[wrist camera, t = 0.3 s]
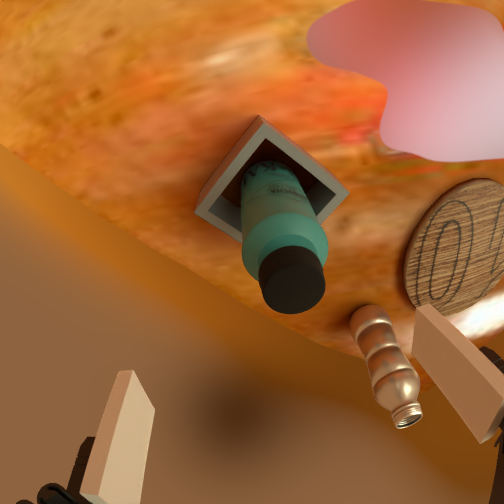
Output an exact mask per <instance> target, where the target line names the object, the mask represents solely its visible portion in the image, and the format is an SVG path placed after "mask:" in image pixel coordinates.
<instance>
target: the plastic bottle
mask: <svg viewBox="0 0 504 504" xmlns="http://www.w3.org/2000/svg"><path fill="white" fill-rule="evenodd" d="M349 327H350V333H351V335H352V337H353V339H354V340H355V342H356V343H357V344H358V346H359V348H360V350H361V352H362V354H363V356H364V358H365V360H366V363H367V367H368V370H369V373H370V378H371V383H372V389H373V394H374V398H375V399H376V401H377V402H378V403H379V404H380V405H381V406H383V407H384V408H386V409H388V410H390V411H391V412H392V414H391V417H392V419H393V420H394V423H395V426H396V428H405V427H408V426H411V425H413V424H415V423H416V422H418V421H419V420H420V419H421V418H422V416H423V415H422V411H421V409H420V404H419V402H416V400H417V397H418V393H419V389H420V379H419V376H418V374H417V372H416V371H415V370H414V368H413V367H412V365H411V364H410V362H409V361H408V360H407V358H406V356H405V354H404V353H403V351H402V349H401V347H400V346H399V344H398V341H397V339H396V336H395V333H394V331H393V327H392V323H391V319H390V317H389V315H388V313H387V312H386V311H385V310H384V309H383V308H382V307H380V306H377V305H365V306H363V307H360V308H359V309H357V310H356V311H355V312H354V313H353V315H352V317H351V319H350V321H349Z"/></svg>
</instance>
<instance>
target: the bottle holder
mask: <svg viewBox="0 0 504 504" xmlns="http://www.w3.org/2000/svg"><path fill="white" fill-rule="evenodd" d="M265 138H266V139H268V140H269V141H270V142H272V143H273V144H274V145H276V146H277V147H278V148H280V149H281V150H282V151H284V152H285V153H286V154H287V155H289V156H290V157H291V158H293V159H294V160H295V161H296V162H298V163H299V164H300V165H301V166H303V167H304V168H305V169H306V170H308V171H309V172H310V173H311V174H312V175H314V176H315V177H316V178H317V179H318V180H317V182H316V183H315V184H314V185H313V186H312V187H311V188H310V189H309V191H308V192H307V193H306V194H305V195H306V197H307V199H308V200H309V202H310V204H311V205H312V206H313V207H314V208H313V207H312V206H311V207H312V209H313V211H314V213H315V215H316V217H317V220H318V222H319V224H320V225H321V224H322V223H323V221H324V220H325V219H326V218H327V217H328V216H329V215H330V214H331V213H332V212H333V211H334V210H335V209H336V207H337V206H338V205H339V204H340V203H341V202H342V201H343V200H344V199H345V198H346V197H347V196H348V194H349V192H348V191H347V189H346V188H345V187H344V186H343V185H342V184H341V183H340V181H339V180H338V179H337V178H336V177H335V176H334V175H333V174H332V173H331V172H330V171H329V170H328V169H326V168H325V167H324V166H323V165H322V164H320V163H319V162H318V161H317V160H316V159H314V158H313V157H312V156H311V155H310V154H308V153H307V152H306V151H305V150H304V149H302V148H301V147H300V146H299V145H297V144H296V143H295V142H294V141H292V140H291V139H290V138H289V137H287V136H286V135H285V134H283V133H282V132H281V131H280V130H278V129H277V128H276V127H274V126H273V125H272V124H270V123H269V122H268V121H266V120H265V119H264V118H262V117H261V116H260V115H259V116H258V117H257V118H256V119H255V121H254V122H253V123H252V124H251V126H250V127H249V128H248V129H247V131H246V132H245V133H244V134H243V136H242V137H241V138H240V139H239V141H238V142H237V143H236V145H235V146H234V147H233V148H232V150H231V151H230V152H229V153H228V155H227V156H226V157H225V159H224V160H223V161H222V163H221V164H220V165H219V167H218V168H217V169H216V171H215V172H214V173H213V175H212V176H211V177H210V179H209V180H208V181H207V183H206V184H205V185H204V187H203V188H202V189H201V191H200V193H199V196H198V200H197V203H196V207H195V210H194V213H195V214H196V215H198V216H199V217H201V218H202V219H204V220H206V221H207V222H209V223H210V224H212V225H213V226H215V227H216V228H218V229H220V230H221V231H223V232H224V233H226V234H227V235H229V236H231V237H232V238H234V239H235V240H237V241H238V242H240V243H242V221H241V209H239V207H237V206H236V205H234V204H233V203H231V202H230V201H228V200H227V199H225V198H224V197H222V196H221V195H220V194H221V193H222V192H223V190H224V189H225V188H226V187H227V185H228V184H229V183H230V181H231V180H232V179H233V178H234V176H235V175H236V174H237V173H238V171H239V170H240V169H241V167H242V166H243V165H244V164H245V162H246V161H247V160H248V159H249V157H250V156H251V155H252V154H253V153H254V151H255V150H256V149H257V148H258V146H259V145H260V144H261V143H262V141H263V140H264V139H265ZM316 212H317V213H316ZM239 214H240V215H239ZM239 219H240V220H239Z"/></svg>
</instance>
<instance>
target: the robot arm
mask: <svg viewBox="0 0 504 504" xmlns="http://www.w3.org/2000/svg"><path fill="white" fill-rule="evenodd" d="M411 353H412V354H413V355H414V357H415V358H416V359H417V361H418V362H419V363H420V364H421V366H422V367H423V368H424V369H425V371H426V372H427V373H428V374H429V376H430V377H431V378H432V380H433V381H434V382H435V384H436V385H437V386H438V387H439V389H440V390H441V391H442V393H443V394H444V395H445V397H446V398H447V399H448V401H449V402H450V403H451V405H452V406H453V407H454V409H455V410H456V411H457V413H458V414H459V415H460V417H461V418H462V419H463V421H464V422H465V424H466V425H467V426H468V428H469V429H470V431H471V432H472V433H473V435H474V436H475V437H476V439H477V440H478V442H479V443H480V444H481V443H483V442H485V441H486V440H488V439H489V438H491V437H492V436H493V435H494V434H495V432H496V431H497V429H498V427H500V428H501V429H502V432H501V434H500V436H499V437H498V439H497V441H496V443H495V445H494V447H496V446H497V445H498V443H499V442H500V444H499V452H498V459H497V466H496V471H495V477H494V482H493V487H492V492H491V496H490V501H489V504H504V360H503V359H501V357H500V356H499V355H497V354H496V353H495V352H494V351H493V350H491V349H489V348H487V347H485V346H483V347H481V348H480V349H478V348H477V347H476V346H475V345H474V344H472V343H471V342H470V341H469V340H468V339H467V338H466V337H465V336H464V335H463V334H462V333H461V332H460V331H459V330H458V329H457V328H456V327H455V326H453V325H452V324H451V323H450V322H449V321H448V320H447V319H446V318H445V317H444V316H443V315H442V314H440V313H439V312H438V311H437V310H436V309H435V308H434V307H433V306H432V305H430V304H429V303H428V304H425V305H422V306H419V307H416V314H415V325H414V335H413V344H412V352H411ZM154 413H155V409H154V408H153V406H152V404H151V402H150V400H149V399H148V397H147V395H146V393H145V392H144V390H143V388H142V386H141V384H140V382H139V380H138V378H137V376H136V374H135V372H134V370H128V371H119V372H118V375H117V377H116V380H115V383H114V386H113V388H112V391H111V394H110V397H109V399H108V402H107V405H106V408H105V411H104V414H103V417H102V420H101V423H100V426H99V429H98V432H97V435H96V437H87V438H86V439H85V441H84V442H83V443H82V445H81V446H80V449H79V452H78V455H77V456H78V457H77V458H76V461H75V465H74V467H73V470H72V474H71V477H70V480H69V483H68V487H67V490H65V489H64V488H63V487H62V486H60V485H59V484H56V483H49V484H46V485H45V486H43V487H42V488H41V489H40V491H39V492H38V495H37V503H38V504H140V498H141V491H142V484H143V477H144V470H145V464H146V458H147V452H148V446H149V440H150V435H151V429H152V423H153V418H154ZM16 504H33V503H32V502H30V501H28V500H20V501H18V502H17V503H16Z"/></svg>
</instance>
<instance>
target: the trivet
mask: <svg viewBox="0 0 504 504" xmlns="http://www.w3.org/2000/svg"><path fill="white" fill-rule="evenodd" d="M402 275H403V286H404V288H405V290H406V292H407V295H408V297H409V299H410V300H411V302H412V304H413V305H414V306H416V307H419V306H422V305H425V304H428V303H429V304H430V305H432V306H433V307H434V308H435V309H436V310H437V311H438V312H439V313H440V314H442V315H443V316H447V315H451V314H455V313H458V312H461V311H463V310H465V309H467V308H469V307H471V306H472V305H474V304H475V303H477V302H478V301H479V300H481V299H482V298H483V297H485V296H486V295H487V294H488V293H489V292H490V291H491V290H492V289H493V288H494V287H495V286H496V285H497V283H498V282H499V280H500V279H501V278H502V276H503V275H504V186H503V185H501V184H500V183H498V182H495V181H493V180H491V179H489V178H473V179H470V180H467V181H464V182H462V183H459V184H457V185H455V186H454V187H452V188H451V189H450V190H448V191H447V192H445V193H444V194H442V195H441V196H440V197H439V198H438V199H437V200H436V201H435V202H434V203H433V204H432V206H431V207H430V208H429V209H428V210H427V211H426V212H425V214H424V215H423V217H422V218H421V220H420V222H419V223H418V225H417V226H416V228H415V229H414V231H413V233H412V236H411V238H410V241H409V243H408V246H407V248H406V250H405V256H404V261H403V267H402Z"/></svg>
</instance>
